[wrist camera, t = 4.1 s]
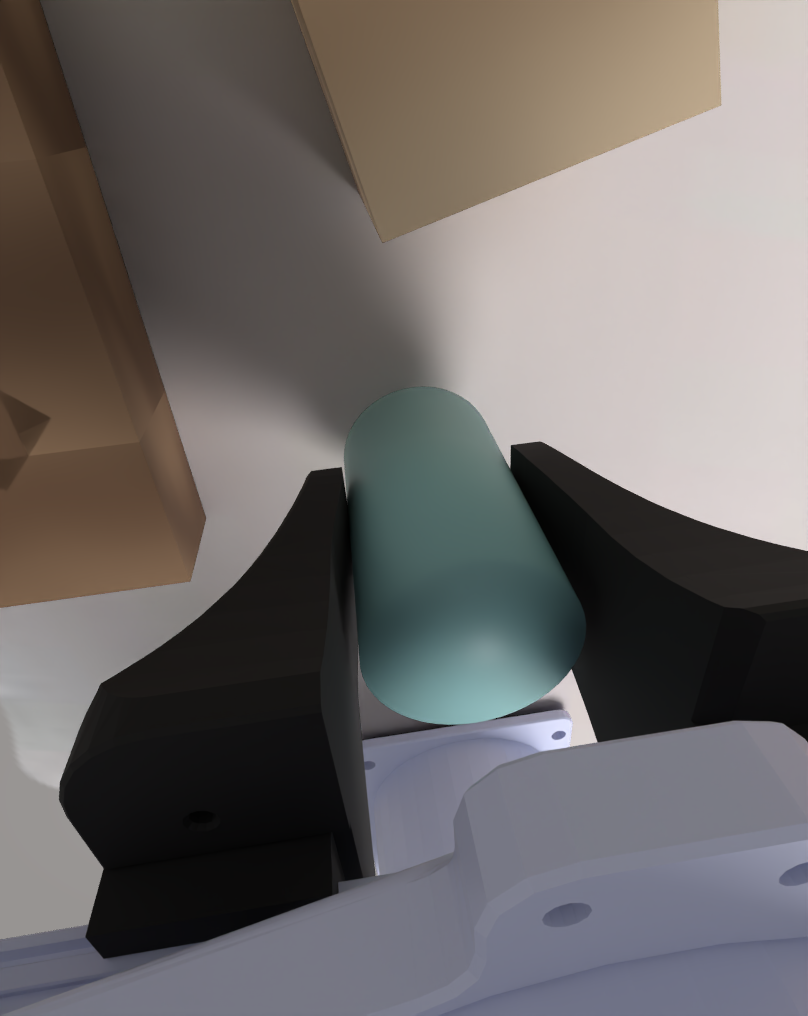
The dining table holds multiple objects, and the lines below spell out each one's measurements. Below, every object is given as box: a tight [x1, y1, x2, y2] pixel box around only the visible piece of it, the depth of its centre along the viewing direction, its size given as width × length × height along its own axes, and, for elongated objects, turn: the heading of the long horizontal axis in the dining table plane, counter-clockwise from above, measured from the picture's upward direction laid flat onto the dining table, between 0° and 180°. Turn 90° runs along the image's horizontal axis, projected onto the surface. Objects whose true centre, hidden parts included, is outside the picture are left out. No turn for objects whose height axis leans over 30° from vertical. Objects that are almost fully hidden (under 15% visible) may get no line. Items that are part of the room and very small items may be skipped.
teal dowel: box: [344, 387, 586, 725], centre depth 12 cm, size 3×3×6 cm
